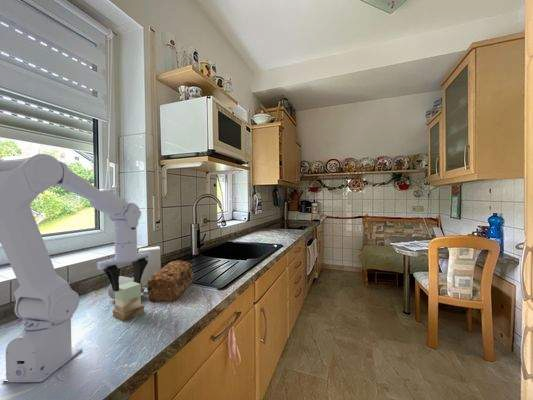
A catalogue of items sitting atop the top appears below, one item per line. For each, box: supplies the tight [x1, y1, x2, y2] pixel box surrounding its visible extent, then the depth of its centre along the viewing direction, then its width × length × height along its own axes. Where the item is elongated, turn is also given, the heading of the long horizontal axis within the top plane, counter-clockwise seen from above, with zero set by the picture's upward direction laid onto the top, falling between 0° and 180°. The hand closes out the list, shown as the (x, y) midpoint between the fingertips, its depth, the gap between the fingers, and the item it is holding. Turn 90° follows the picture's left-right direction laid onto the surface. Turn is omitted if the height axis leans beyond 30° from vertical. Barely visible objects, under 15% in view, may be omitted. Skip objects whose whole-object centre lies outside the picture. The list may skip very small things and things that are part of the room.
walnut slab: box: [112, 304, 145, 322], centre depth 68 cm, size 6×6×2 cm
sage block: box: [115, 281, 142, 302], centre depth 68 cm, size 5×5×4 cm
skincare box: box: [137, 245, 162, 288], centre depth 94 cm, size 8×6×15 cm
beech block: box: [114, 295, 142, 313], centre depth 68 cm, size 5×5×4 cm
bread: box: [146, 259, 195, 303], centre depth 85 cm, size 19×11×10 cm, turn 179°
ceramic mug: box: [107, 275, 145, 300], centre depth 81 cm, size 11×8×8 cm
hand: (126, 287), depth 68 cm, fingers open, 6 cm apart
